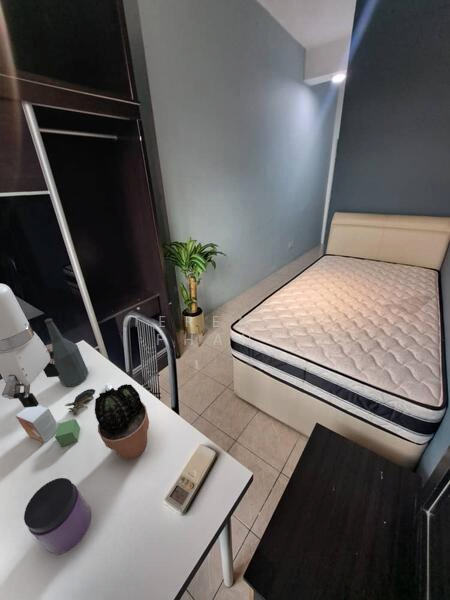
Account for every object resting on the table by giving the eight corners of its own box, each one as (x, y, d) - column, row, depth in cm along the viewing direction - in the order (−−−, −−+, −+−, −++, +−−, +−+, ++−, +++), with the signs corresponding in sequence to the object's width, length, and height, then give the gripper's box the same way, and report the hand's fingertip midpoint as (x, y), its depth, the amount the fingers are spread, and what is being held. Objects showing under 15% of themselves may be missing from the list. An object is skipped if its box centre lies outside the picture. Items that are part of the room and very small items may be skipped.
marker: (105, 386, 100) (103, 382, 99) (110, 383, 101) (108, 379, 100) (119, 415, 88) (118, 411, 87) (125, 412, 89) (124, 408, 88)
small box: (28, 436, 83) (14, 415, 78) (44, 421, 87) (31, 401, 82) (45, 443, 80) (31, 423, 75) (60, 428, 85) (48, 407, 80)
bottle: (85, 366, 111) (60, 309, 97) (92, 377, 105) (66, 318, 91) (59, 378, 105) (29, 320, 91) (65, 391, 99) (33, 330, 85)
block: (60, 446, 79) (54, 437, 77) (64, 432, 83) (58, 423, 81) (77, 441, 80) (72, 432, 78) (80, 428, 84) (75, 418, 82)
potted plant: (156, 459, 74) (137, 402, 62) (107, 475, 71) (78, 418, 59) (154, 420, 85) (138, 366, 74) (112, 432, 82) (89, 378, 70)
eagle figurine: (86, 416, 87) (101, 393, 94) (68, 406, 84) (85, 382, 91) (76, 418, 91) (91, 396, 98) (59, 409, 88) (76, 386, 95)
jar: (39, 562, 55) (15, 540, 50) (52, 510, 64) (33, 486, 58) (88, 543, 58) (70, 520, 52) (94, 495, 66) (79, 471, 61)
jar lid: (21, 541, 51) (15, 536, 50) (36, 491, 59) (32, 486, 58) (71, 522, 53) (67, 517, 52) (80, 477, 61) (77, 471, 60)
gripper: (21, 318, 63) (47, 367, 71) (-38, 365, 48) (4, 421, 56) (50, 315, 64) (73, 365, 72) (2, 362, 48) (38, 418, 57)
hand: (43, 390), depth 64 cm, fingers open, 9 cm apart
